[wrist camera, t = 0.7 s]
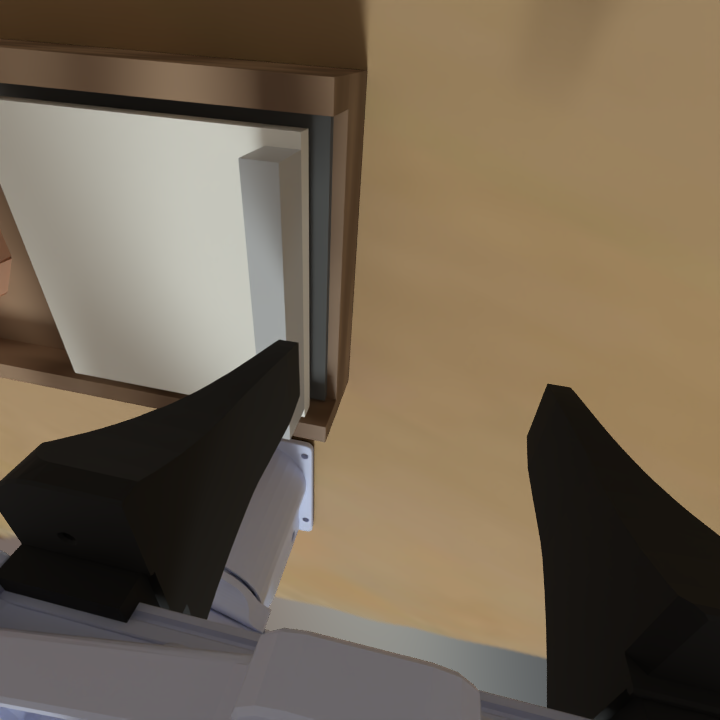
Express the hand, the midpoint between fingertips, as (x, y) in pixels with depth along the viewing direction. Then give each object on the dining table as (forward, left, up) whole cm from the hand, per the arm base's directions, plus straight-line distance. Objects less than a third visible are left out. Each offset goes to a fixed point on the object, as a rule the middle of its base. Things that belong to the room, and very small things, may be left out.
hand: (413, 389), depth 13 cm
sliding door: (0, +11, -5) cm, 12 cm away
